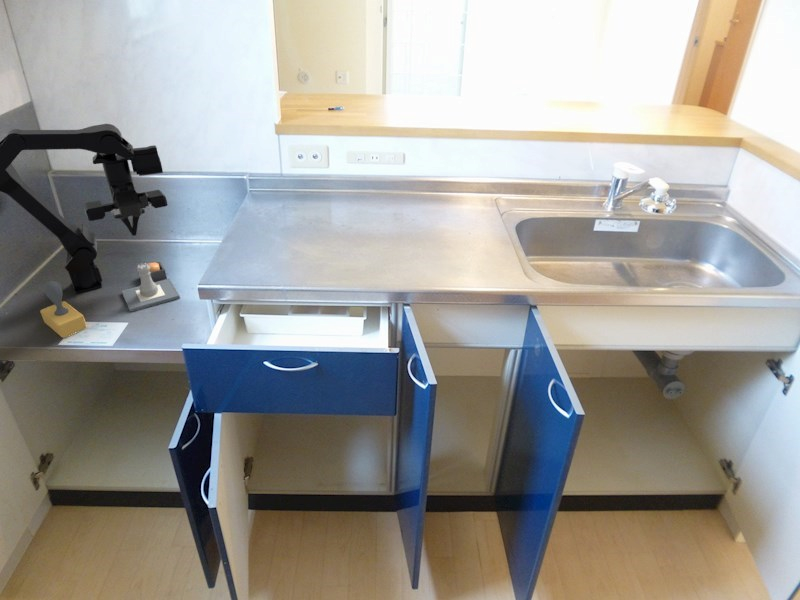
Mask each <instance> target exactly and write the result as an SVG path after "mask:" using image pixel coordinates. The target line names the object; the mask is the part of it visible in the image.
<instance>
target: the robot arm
mask: <svg viewBox="0 0 800 600" xmlns="http://www.w3.org/2000/svg"><path fill="white" fill-rule="evenodd" d="M39 150H40V151H41V150H42V151H45V150H84V151H89V152H92V153H95V154H94V156H93V157H92V164H93V165H101V164H102V168H103V171H104V175H105V179H106V183H107V186H108V189H109V194H110V196H111V200H112V202H111V203H103V204H102V201H101V200H96V201H88V202H84V204H83V208H84V213H85V216H86V217H87V220H88V221H89V222H94V221H98V220H103V219H104V218H105V217H106V213H108V212H109V213H110V212H111V215H112V217H113V219H115V220H116V219H117V220H118V219H119V220H121V222H122V223H123V224H124V225H125V226H126V228H127V230H128V231H129V232H130V234H131V235H132V237H135V236H137V231H138V225H139V219H140V217H141V216H142V214H145V213H146V211H145V209H146V208H147V207H149V205H151V207H153V208H155V209H159V208H164V207H167V206H168V205H169V204H168V199H167V197H166V195H165V194H164V193H163V192H162V191H161V190H160V189H156V190H155V189H154V190H150V191H143V192H137V191H136V189H135V184H134V181H133V177H132V173H131V169H130V165H129V161H130V163H131V168H132V170H133V173H136V175H139V177H142V176H151V175H158V174H159V175H160V174H163V173H164V171H163V166H162V161H161V159H160V155H159V153H158V147H157V145H154V144H153V145H149V146H145V147H143V146H142V147H136V148H135V147H134V146H133V145H132V144H131V143H130V142H129V141H128V140H127V139H125V138H124V137H123V136H122V133H121V131H120V130H119V128H118V127H117V126H115V125H114V124H111V123H104V124H96V125H91V126H88V127H84V128H80V129H19V128H14V129H10V130H9V131H8V132H7V134H6V135H5V136H4V137H3V138H2V139H1V140H0V193H2V194H4V195H7V196H9V197H10V198H11V199H12V200H13V201H15V202H16V203H17V204H18V205H19V206H21V207H22V208H23V209H24V210H25V211H26V212H27V213H28V214H29V215H31V216H32V217H34V219H36V220H37V221H38V222H39V223H40V224H41V225H42V226H44V227H45V228H46V229H47V230H48V231H50V232H51V234H53V235H54V236H55V237H56V238H57V239H58V240H59V242H60V244H61V245H62V247H63V248H64V249H65V251H66V253H65V264H64V268H65V270H66V271H67V272H68V276H69V278H70V281H71V285H72V289H73V292H74V294H79V293H83V292H87V291H92V290H95V289H99V288H102V287H103V285H102V282H103V278H102V275H101V272H100V269H99V266H98V264H97V263H96V264H95V262H94V260H96V258H97V255H98V248H97V247H98V243H97V239H96V238H95V236H96V235H95V233H93V232H91V231H90V230H89V229H88V228H87V227H86V226H85V225H84V224H82V223H81V225H79V226H75V225H74V224H72V223H70V222H69V221H68V220H67V219H66V218H64V217H63V216H62V215H61V214H60V213H59V212H58V211H56V210H55V209H54V208H53V207H52V206H51V205H50V204H48V202H47V201H46V200H45V199H43V198H42V197H41V196H40V195H39V194H38V193H36V192H35V191H34V190H33V189H32V188H31V187H30V186H28V184H27V183H26V182H24V181H23V180H22V178H21V176H20V175H19V172H18V171H17V169H16V168H15V166H14V165H13V164H12V163H13V162H14V160H15V159H16V158H17V156H19V154H20V153H21V152H22V151H39ZM128 217H130V218H128ZM129 219H130V220H129Z"/></svg>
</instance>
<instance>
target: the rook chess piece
mask: <svg viewBox="0 0 800 600" xmlns="http://www.w3.org/2000/svg"><path fill="white" fill-rule="evenodd" d="M136 266H137V267H136V272H137V273H138V277H140V278H139V279H140V285H139V286H140V288H139V290H140V294H141V295H143V296H146V297H148V296H153V295H155V294H156V293H157V292H158V288H157V285H156V284H155V283H154V282H153V280H152V278H151V275H150V274H151V273H150V272H149V270H150V266H148V263H147V262H144V263H139V264H137V265H136Z"/></svg>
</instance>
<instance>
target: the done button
mask: <svg viewBox="0 0 800 600" xmlns="http://www.w3.org/2000/svg"><path fill="white" fill-rule="evenodd" d="M147 264H148V266H150V270H149V272H154V271H158V270H160V267H159V264H158V263H156V262H149V263H147Z"/></svg>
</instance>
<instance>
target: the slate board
mask: <svg viewBox="0 0 800 600" xmlns="http://www.w3.org/2000/svg"><path fill="white" fill-rule="evenodd" d="M154 283H155V284H156V285H157V288H158V292H157V293H156V294H155V295H153V296H148V297H146V296H143V295H141V294H140V290H139V288H140V285H138V286H135V287H131V288H127V289H123V290H121V294H122V296H123V298H124V300H125V302H126V305H127V308H128V309H129V312H130V313H131V312H134V311H135V312H136V311H138V310H142V309H145V308H149V307H152V306H156V305H159V304H164V303H167V302H171V301H174V300H179V299H180V298H181V296H180V294H179V292H178V291H177V288H175V285H174V284H173V282H172V281H171V278H167V279H165V280H162V281H158V282H154Z"/></svg>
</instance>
